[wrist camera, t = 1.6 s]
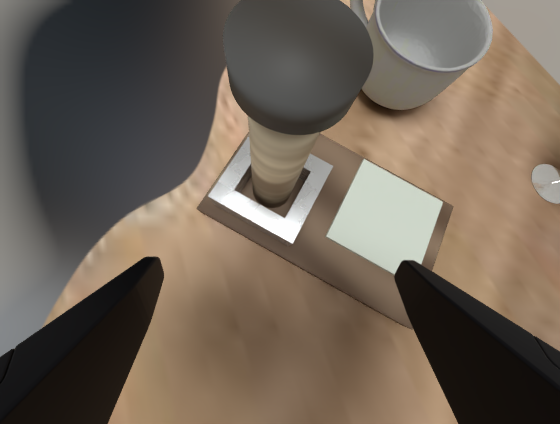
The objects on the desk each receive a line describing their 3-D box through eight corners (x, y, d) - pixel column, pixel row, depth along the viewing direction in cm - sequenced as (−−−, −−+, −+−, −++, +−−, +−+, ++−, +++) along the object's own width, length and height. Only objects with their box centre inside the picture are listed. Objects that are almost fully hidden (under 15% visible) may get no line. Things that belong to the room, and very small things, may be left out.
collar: (288, 246, 20) (292, 243, 17) (213, 204, 20) (207, 196, 18) (324, 176, 22) (333, 166, 19) (256, 139, 22) (256, 124, 19)
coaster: (410, 284, 20) (414, 285, 20) (324, 236, 20) (326, 236, 20) (439, 203, 22) (443, 201, 22) (361, 161, 23) (363, 158, 22)
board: (403, 325, 20) (412, 329, 19) (200, 211, 21) (196, 208, 20) (443, 209, 24) (453, 206, 22) (266, 112, 24) (267, 104, 23)
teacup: (444, 101, 27) (519, 36, 19) (379, 140, 25) (435, 84, 17) (376, 21, 29) (420, -67, 21) (310, 51, 27) (332, -36, 19)
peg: (281, 223, 20) (336, 135, 6) (236, 198, 20) (190, 57, 6) (304, 181, 21) (394, 29, 7) (262, 158, 21) (271, -37, 8)
